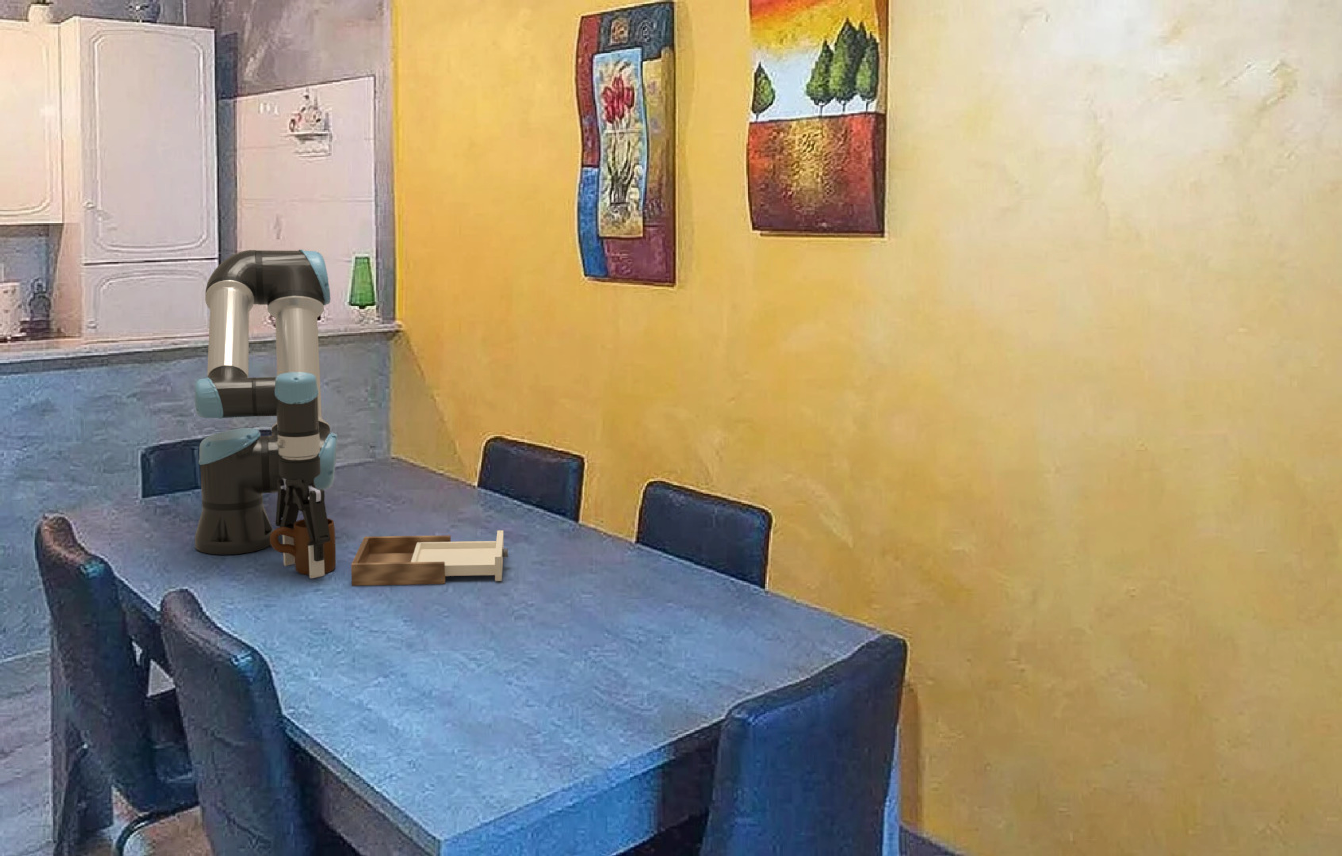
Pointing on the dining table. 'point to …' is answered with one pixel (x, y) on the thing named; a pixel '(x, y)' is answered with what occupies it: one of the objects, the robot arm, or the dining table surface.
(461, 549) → the drawer
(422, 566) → the frame
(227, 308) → the robot arm
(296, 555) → the mug
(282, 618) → the dining table surface
